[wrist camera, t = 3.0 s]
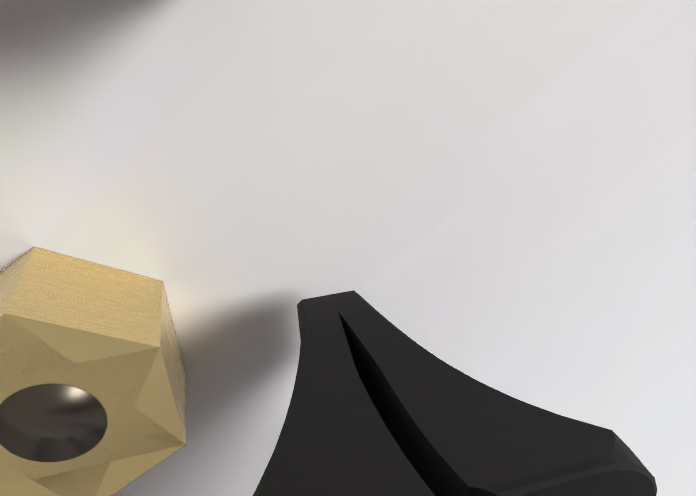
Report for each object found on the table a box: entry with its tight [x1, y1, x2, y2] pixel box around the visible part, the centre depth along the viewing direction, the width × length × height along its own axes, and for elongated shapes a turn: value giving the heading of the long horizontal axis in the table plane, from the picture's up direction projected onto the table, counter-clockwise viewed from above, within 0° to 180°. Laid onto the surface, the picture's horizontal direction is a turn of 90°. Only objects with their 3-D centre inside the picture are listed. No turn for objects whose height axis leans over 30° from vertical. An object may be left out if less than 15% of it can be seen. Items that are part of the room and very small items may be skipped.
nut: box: [0, 247, 186, 496], centre depth 12 cm, size 5×5×2 cm
